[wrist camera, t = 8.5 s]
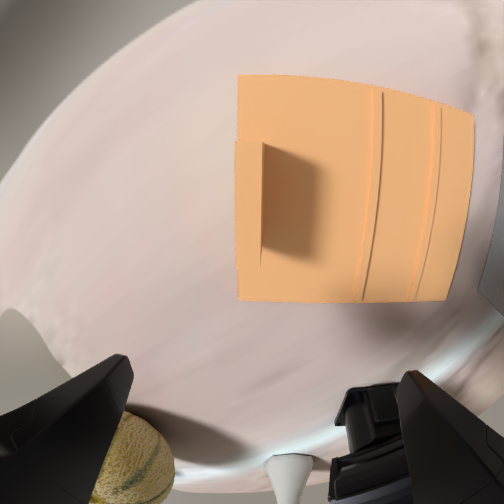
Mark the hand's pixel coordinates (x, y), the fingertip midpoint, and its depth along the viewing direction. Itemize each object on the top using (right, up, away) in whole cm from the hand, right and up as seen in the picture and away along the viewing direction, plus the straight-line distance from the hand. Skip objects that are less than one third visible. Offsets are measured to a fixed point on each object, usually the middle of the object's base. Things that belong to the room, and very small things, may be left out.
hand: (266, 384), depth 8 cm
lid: (+7, +7, +9) cm, 13 cm away
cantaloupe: (-16, -19, +21) cm, 33 cm away
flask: (+5, -26, +23) cm, 35 cm away
